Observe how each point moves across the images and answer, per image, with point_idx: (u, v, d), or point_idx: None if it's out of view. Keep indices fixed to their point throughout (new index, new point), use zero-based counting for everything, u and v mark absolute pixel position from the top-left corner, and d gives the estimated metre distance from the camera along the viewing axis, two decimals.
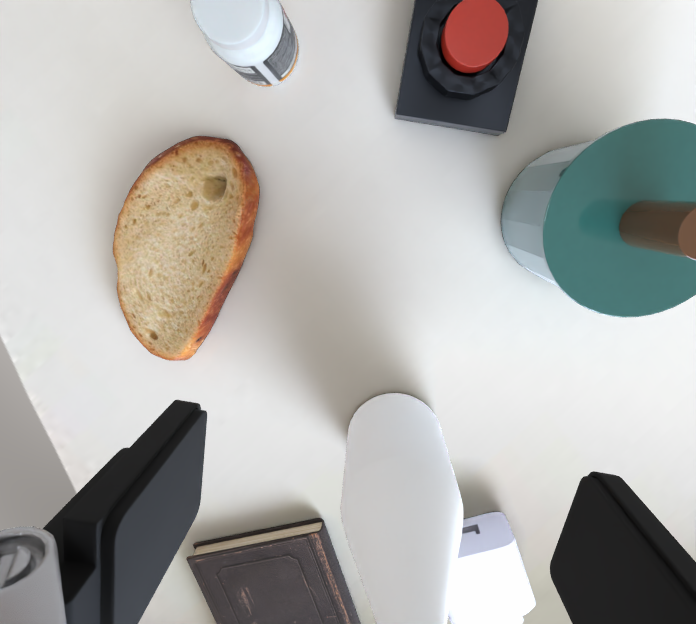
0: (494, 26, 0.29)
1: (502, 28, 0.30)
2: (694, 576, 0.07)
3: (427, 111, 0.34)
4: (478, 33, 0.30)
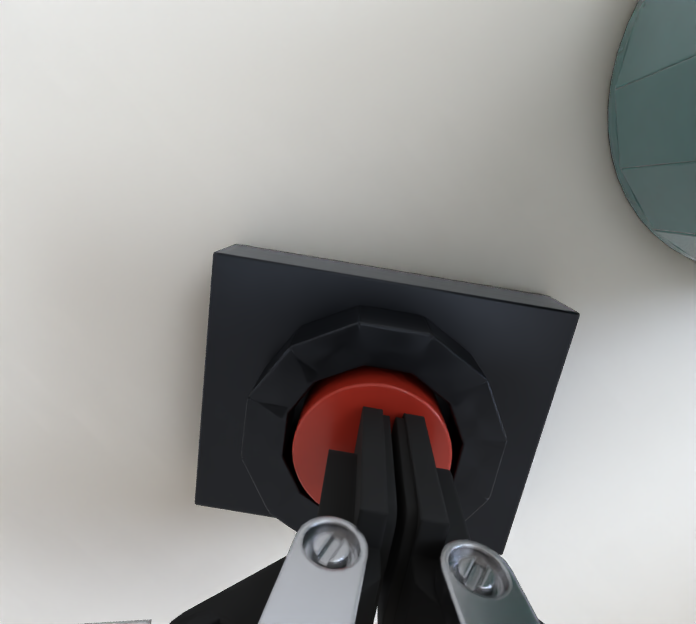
0: (360, 417, 0.11)
1: (366, 398, 0.11)
2: (427, 483, 0.08)
3: (505, 495, 0.14)
4: None
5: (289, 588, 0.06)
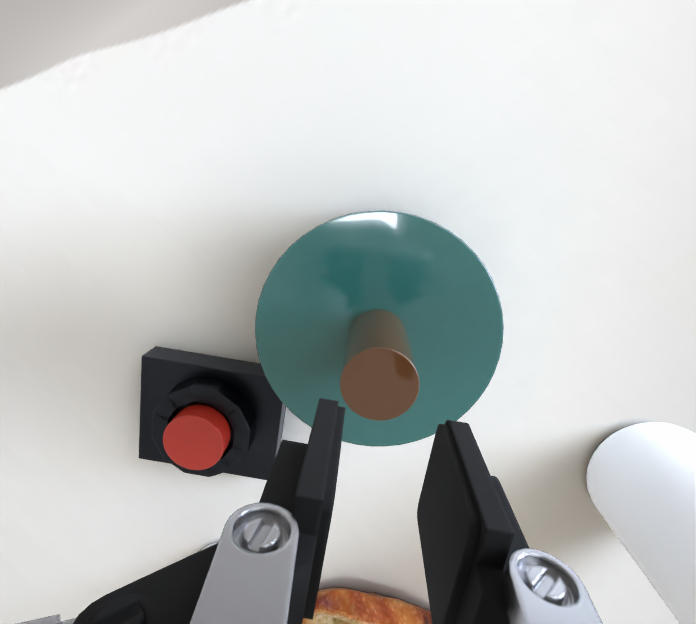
0: (186, 428, 0.30)
1: (188, 421, 0.30)
2: (484, 491, 0.08)
3: (268, 454, 0.34)
4: (194, 442, 0.30)
5: (222, 579, 0.06)
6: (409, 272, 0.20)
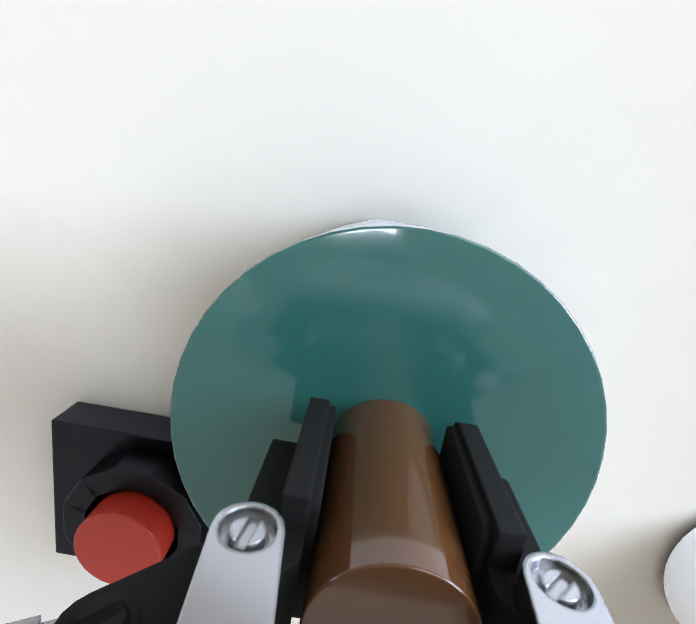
0: (106, 530, 0.21)
1: (107, 521, 0.21)
2: (496, 494, 0.08)
3: None
4: (118, 549, 0.21)
5: (208, 579, 0.06)
6: (441, 336, 0.11)
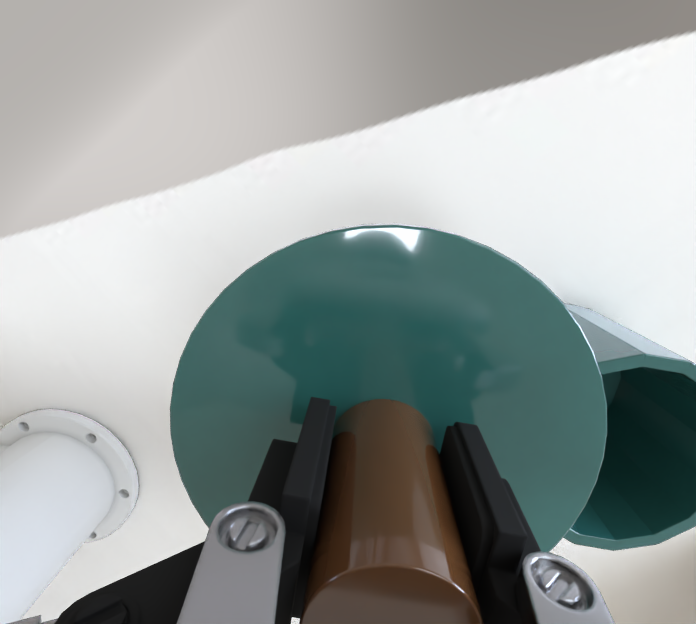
0: None
1: None
2: (496, 494, 0.08)
3: None
4: None
5: (208, 578, 0.06)
6: (441, 336, 0.11)
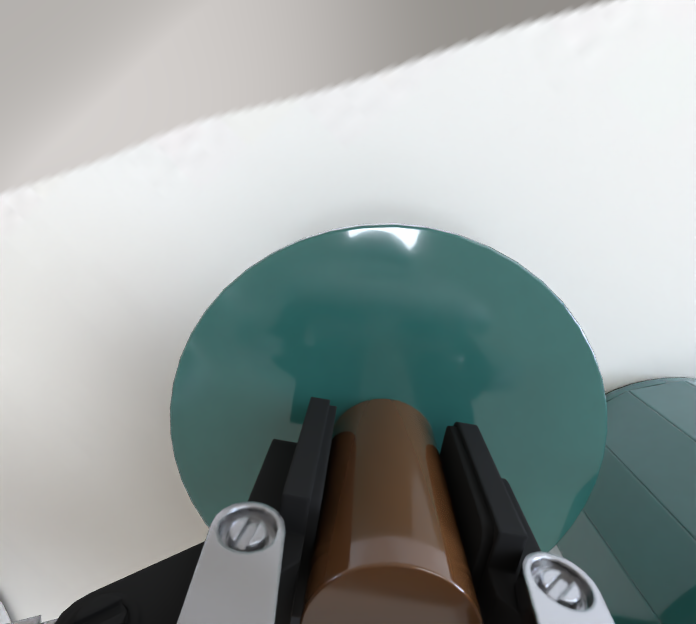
0: None
1: None
2: (496, 494, 0.08)
3: None
4: None
5: (208, 578, 0.06)
6: (441, 336, 0.11)
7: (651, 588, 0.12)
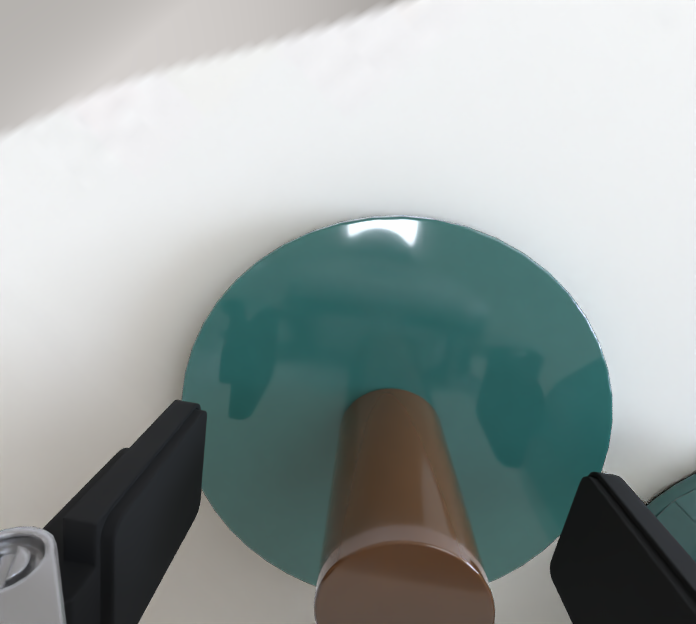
0: None
1: None
2: (694, 576, 0.07)
3: None
4: None
5: None
6: (449, 326, 0.11)
7: None
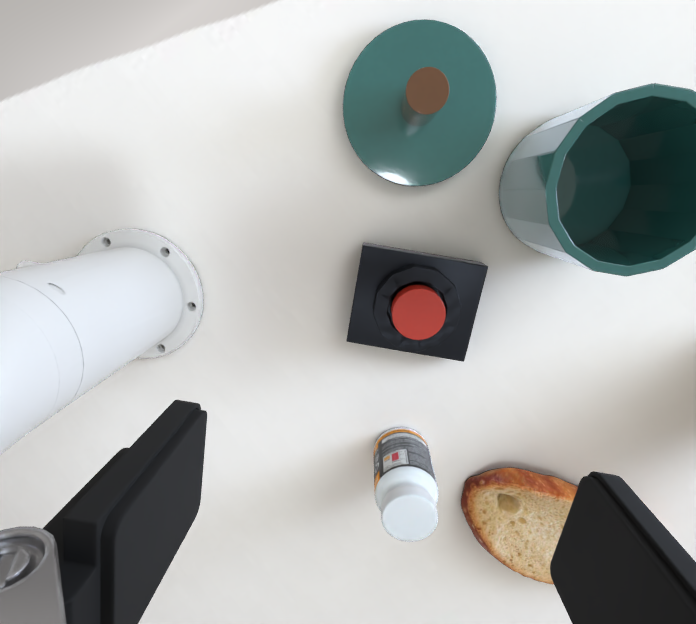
0: (415, 300, 0.35)
1: (417, 294, 0.34)
2: (694, 576, 0.07)
3: (464, 335, 0.38)
4: (420, 313, 0.35)
5: None
6: (439, 60, 0.34)
7: (540, 150, 0.29)
